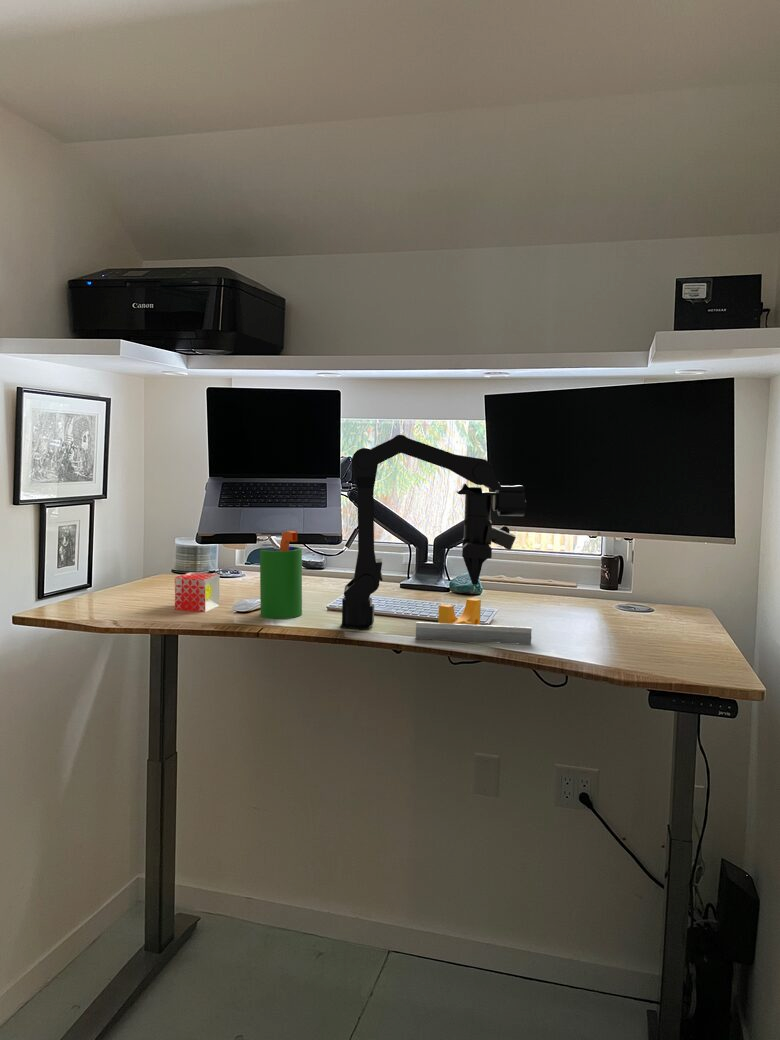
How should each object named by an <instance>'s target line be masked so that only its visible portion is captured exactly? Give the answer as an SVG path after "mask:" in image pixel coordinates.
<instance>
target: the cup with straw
mask: <svg viewBox="0 0 780 1040" xmlns="http://www.w3.org/2000/svg"><path fill="white" fill-rule="evenodd" d="M292 542H293V543H294V542H298V532H297V531H294V530H287V531H284V532H283V533H282V535H281V539H280V546H279V550H265V549H259V572H260V573H259V574H260V575H259V578H260V582H259V583H260V584H259V586H260V587H259V589H260V591H259V592H260V593H259V594H260V596H259V597H260V603H259V604H260V617H262V618H266V619H277V620H278V619H281V620H282V619H293V618H296V617H300V616H302V615H303V548H302V547H299V546H294V545H290V543H292Z"/></svg>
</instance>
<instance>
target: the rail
mask: <svg viewBox="0 0 780 1040" xmlns="http://www.w3.org/2000/svg"><path fill="white" fill-rule="evenodd" d="M532 630H533V629H532V627H531V626H529V627H528V626H514V625H513V626H512V625H511V626H510V625H509V626H508V625H490V624H489V625H488V624H487V625H486V624H480V625H472V624H452V623H438V622H432V621H431V622H429V621H427V622H426V621H425V622H424V621H415V639H416V640H427V639H434V641H446V640H450V641H449V642H452V641H453V642H466V641H468V642H469V643H485V642H500V643H499V644H505V643H519V644H518V645H524V644H531V645H532Z"/></svg>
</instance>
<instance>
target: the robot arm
mask: <svg viewBox="0 0 780 1040" xmlns="http://www.w3.org/2000/svg"><path fill="white" fill-rule="evenodd" d="M399 454H402V455H407V456H409V457H412V458H415V459H418V460H422V461H423V462H425V463H429V464H432V465H434V466H435V465H436V466H437V467H441V468H444V469H447V470H449V471H451V472H453V473H454V474H456V475H458V476H460V477H462V478H463V479H465V480H467V481H469V482H470V483H472V484H474V485H477V487H476V486H468V484H467V483H463V484H462V485H461V487H460V488H458V489H457V490H456V493H457V494H458V495H464V496H465V497H464V498H465V499H464V518H463V519H464V521H463V523H464V525H463V538H462V542H461V543H462V544H461V547H462V548H461V550H462V552H461V557H462V558H463V561H464V565H465V566H466V567H465V568H466V570H467V573H468V576H469V578H470V581H471V584H472V585H473V586H477V585H478V583H479V579H480V575H481V572H482V567H483V564H484V562H486V561H488V559H492V557H493V556H492V553H493V552H492V551H493V550H492V549H493V548H492V547H491V546H490V545H492V543H493V544H496V545H498V546H501V547H503V548H504V549H505V550H508V551H510V550H512V548H513V545H514V543H515V540H516V538H517V537H516V535H514V534H513V533H511V531H510V527H508V526H506V525H502V526H500V527H499V528H498V527H495V526H493V522H492V520H491V507H492V510H493V512H496V513H497V515H498V517H500V516H501V517H503V516H505V517H507V516H508V517H524V516H525V514H526V510H527V509H526V508H527V501H526V494H525V486H523V485H520V484H519V485H518V484H517V485H501V484H500V482H499V480H498V479H497V478H496V476H495V475H494V473H495V471H494V467H493V464H492V462H490V461H489V460H487V459H485V458H479V457H474V456H473V457H472V456H467V455H460V454H455V453H452V452H449V451H447V450H444V449H441V448H438V447H435V446H432V445H429V444H426V443H423V442H420V441H417V440H414V439H411V438H408V437H407V436H406V435H404V434H397V435H395V436H393V437H392V438H391V439H389V440H387V441H385V442H382V443H380V444H378V445H376V446H374V447H372V448H369V447H362V448H359V449H357V450H356V451H354V453H353V455H352V459H351V465H352V470H353V471H352V472H353V476H354V480H355V485H356V490H357V491H356V492H357V495H356V496H357V549H358V550H357V557H356V563H355V568H354V569H355V570H354V576H353V578H352V579H351V580H350V581H349V582H347V583H346V584H345V586H344V590H343V597H342V602H341V605H342V607H341V609H342V610H341V624H340V626H339V627H340V628H341V629H356V630H357V629H358V630H359V629H361V630H369V629H370V628H371V627H372V626H373V625H374V623H375V604H373V598H372V597H371V595H372V594H374V593H375V592H376V591H377V590H378V589H379V587H380V581H381V582H383V581H384V580H383V579H384V578H383V573H382V567H383V566H382V565H383V558H377V557H376V553H375V552H376V551H375V519H374V515H375V513H374V506H375V505H374V504H375V503H374V501H375V500H374V491H375V483H376V478H377V473H378V466H379V464H381V463H383V462H385V461H387V460H389V459H391V458H393V457H396V456H397V455H399ZM478 486H484V487H485V488H487V489H489V490H491V491H483V488H482V487H478Z"/></svg>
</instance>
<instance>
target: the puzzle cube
mask: <svg viewBox="0 0 780 1040" xmlns="http://www.w3.org/2000/svg"><path fill="white" fill-rule="evenodd" d="M220 583H221V582H220V573H206V572H205V573H204V572H191V571H190V572H187V573H183V574H181V575H179V576H176V577H174V610H176V611H186V612H187V611H188V612H198V613H199V612H200V613H202V612H203V613H206V612H208V611H210V610H213V609H216V608H217V607H219V606H220V605H221V604H220V600H221V599H220V596H221V595H220V586H221V585H220Z"/></svg>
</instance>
